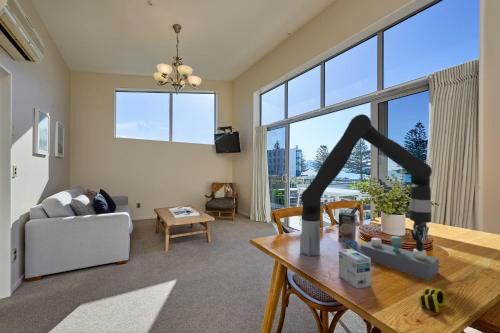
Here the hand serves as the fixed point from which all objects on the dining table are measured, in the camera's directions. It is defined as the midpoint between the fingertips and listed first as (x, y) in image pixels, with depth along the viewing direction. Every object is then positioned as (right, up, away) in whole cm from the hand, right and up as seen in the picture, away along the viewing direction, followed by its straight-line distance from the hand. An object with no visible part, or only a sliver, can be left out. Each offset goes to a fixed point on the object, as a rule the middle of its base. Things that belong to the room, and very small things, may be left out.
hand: (419, 250), depth 99 cm
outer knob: (0, -8, 0) cm, 8 cm away
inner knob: (-11, -7, +15) cm, 19 cm away
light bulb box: (-31, -10, -8) cm, 34 cm away
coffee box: (-14, -9, +40) cm, 44 cm away
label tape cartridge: (-26, -9, +4) cm, 28 cm away
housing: (-5, -9, +7) cm, 13 cm away
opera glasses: (-13, -10, -23) cm, 28 cm away
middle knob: (-5, -4, +7) cm, 10 cm away
